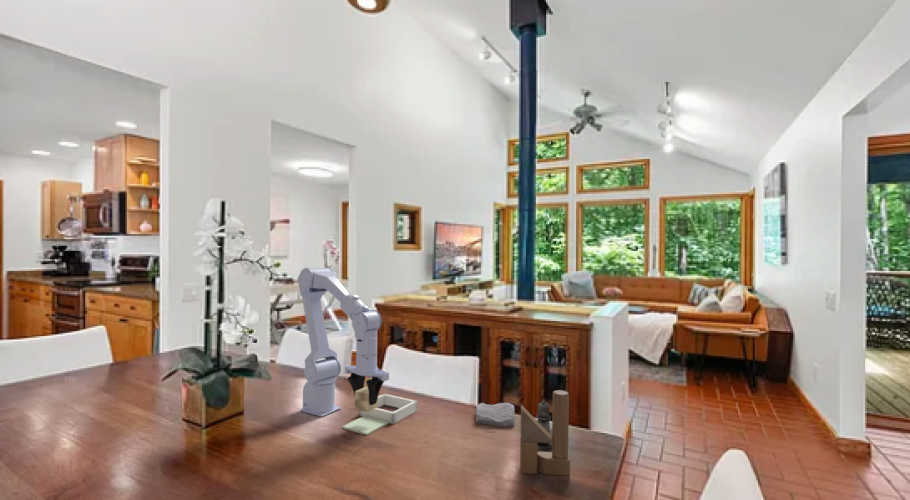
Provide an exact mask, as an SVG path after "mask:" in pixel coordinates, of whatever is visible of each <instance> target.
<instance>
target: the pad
mask: <svg viewBox="0 0 910 500" xmlns="http://www.w3.org/2000/svg"><path fill="white" fill-rule="evenodd" d="M387 425H389V423H388V422H387V421H383V420H379V419H375V418H371V417H367V416H361V417H359V418H357V419H355V420H352V421H350V422H349V423H346V424H344V425H342V427H341V428H342V429H344V430H347V431H351V432H354V433H358V434H360V435H365V436H369V435H371V434H373V433H374V432H376V431H378V430H379V429H382V428H383V427H385V426H387Z"/></svg>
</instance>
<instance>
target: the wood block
mask: <svg viewBox="0 0 910 500" xmlns="http://www.w3.org/2000/svg"><path fill="white" fill-rule="evenodd" d="M377 407H378V398H377V402H376V403H375V404H373V405H370V403H369V390H368V386H365V387H364V388H362V389H359V390H357V391H355V395H354V410H357V411H359V410H360V411H364V412H369V411H371V410H373V409H375V408H377ZM378 408H379V407H378Z"/></svg>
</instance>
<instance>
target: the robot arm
mask: <svg viewBox="0 0 910 500" xmlns="http://www.w3.org/2000/svg"><path fill="white" fill-rule="evenodd" d="M337 273H338V272H336V271H335V270H334V269H333V268H332V267H329V266H328V267H327V266H326V267H311V268H310V267H304V268H303V269H301V271H300V273H299V274H298V277H297V281H298V287H299V294H300V296H301V299H302V305H303V311H304V315H305V317H304V318H305V321H306V329H307V333H308V334H307V335H308V340H309V341H308V342H309V345H310V351H311V352H310V353H309V354H308V355H307V356H306V357H305V359H304V370H303V371H304V378H305V379H306V382H304V383H305V384H304V385H303V389H302V408H300V410H299V411H300V412H303V413H307V414H311V415H315V416H318V417H325V416H327V415H330V414H332V413H334V412H336V411H338V410H340V409H342V408H341V406H338V405H336V404H335V403H336V381H337V380H338V377H339V376H340V375H341V371H342V364H341V362H340V359H339V358H338V353H337V351H334V349H332V348H330V345H329V339H328V335H327V329H326V323H325V319H324V318H325V317H324V313H323V307H322V301H321V299H322V297H323V296H324V295H325V294H327V292H328V293H330V294H331V295H332V296H333V297H334V298H335V299H336V300H337V301H339V303H340V304H339V308H340V309H341V310H342V312H343V313H344V314H345V315H346V316H347V317H348V318H349V319H350V320H351V326H352V329H353V331H354V338H355V339H356V347H355V348H356V351H355V352H356V353H355V355H356V356H355V358H356V359H355V362H356V363H355V365H346V366H344V374H346V375H347V374H348V375H349V374H350V376H348V377H347V381H348V382H349V384H350V386H351V389H352V392H353V394H354V396H355V391H357V390H359V389H362V388H364V386H365V382H366V387H368V390H369V403H370V405H373V404H375V403H376V402H377V398H378V396H379V394H380V390H381V388H382V386H383V385H384V383H385V382H387V381H388V380H390V372H387V371H384V370H382V369H380V368H379V367H378V330H379V329H380V328H381V326H382V322H383V321H382V315H381V314H380V312H379V311H378V310H377V309H371V308H369V307H368V306H367V305H366V304H365V302H364V301H362V300H361V299H360V296H359V295H358V294H353V293H352V294H350V293H349V292H348V290H347V289H346V288H345V286H343V284H342V283H341V282H340V280H339V279H338V274H337ZM366 377H367V378H371V379H368V380H366Z"/></svg>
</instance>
